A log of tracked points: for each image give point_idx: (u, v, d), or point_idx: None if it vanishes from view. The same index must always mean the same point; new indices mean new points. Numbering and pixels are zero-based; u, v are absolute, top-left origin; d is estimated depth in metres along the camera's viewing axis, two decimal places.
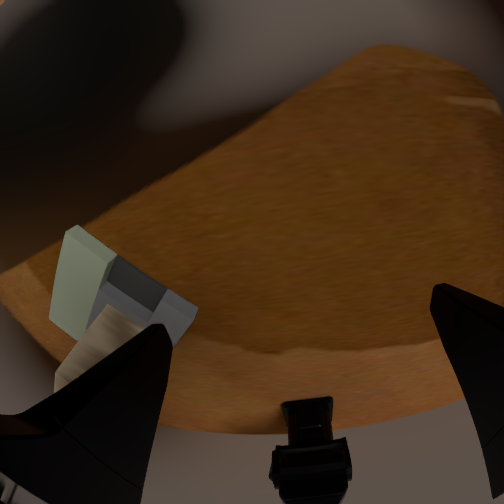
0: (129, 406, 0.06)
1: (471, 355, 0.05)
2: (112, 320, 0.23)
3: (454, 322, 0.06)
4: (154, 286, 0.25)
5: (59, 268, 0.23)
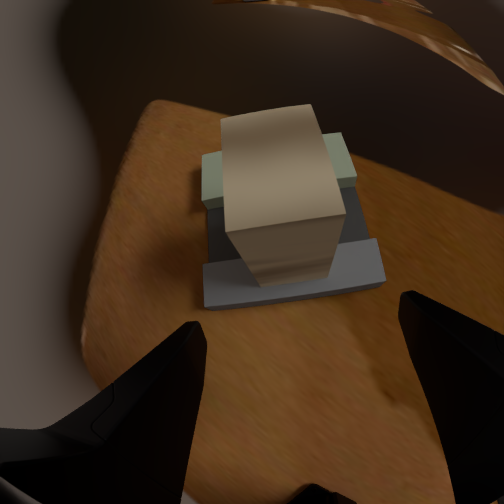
0: (170, 411, 0.06)
1: (435, 368, 0.05)
2: None
3: (419, 332, 0.06)
4: (362, 233, 0.22)
5: None
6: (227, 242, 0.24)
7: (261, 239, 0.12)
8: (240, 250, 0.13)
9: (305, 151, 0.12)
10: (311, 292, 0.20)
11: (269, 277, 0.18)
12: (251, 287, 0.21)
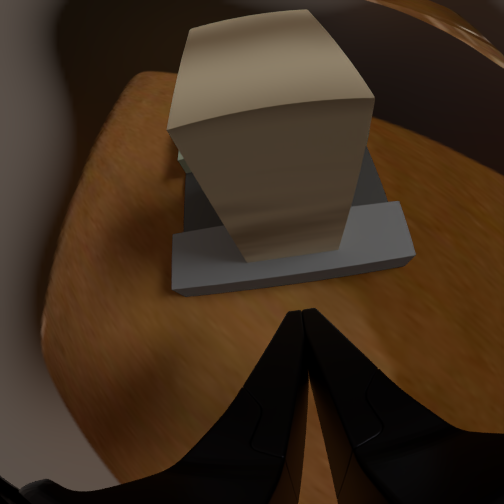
0: (302, 408, 0.05)
1: (317, 396, 0.06)
2: None
3: (308, 355, 0.07)
4: (380, 198, 0.17)
5: None
6: (207, 210, 0.19)
7: (232, 150, 0.07)
8: (201, 179, 0.08)
9: (301, 39, 0.07)
10: (316, 269, 0.14)
11: (256, 244, 0.13)
12: (234, 263, 0.15)
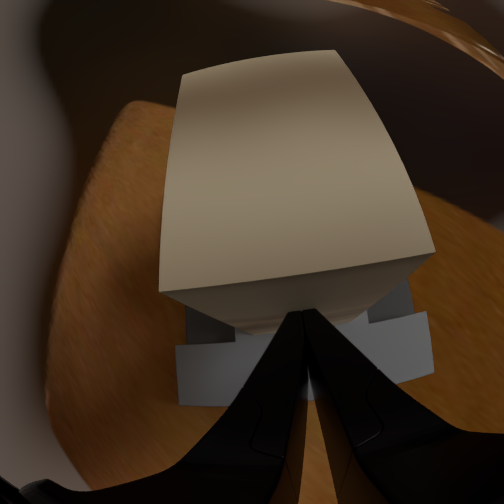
0: (302, 408, 0.05)
1: (317, 396, 0.06)
2: None
3: (308, 355, 0.07)
4: (404, 297, 0.15)
5: None
6: None
7: (244, 299, 0.06)
8: (206, 311, 0.07)
9: (336, 116, 0.06)
10: None
11: (265, 329, 0.12)
12: None
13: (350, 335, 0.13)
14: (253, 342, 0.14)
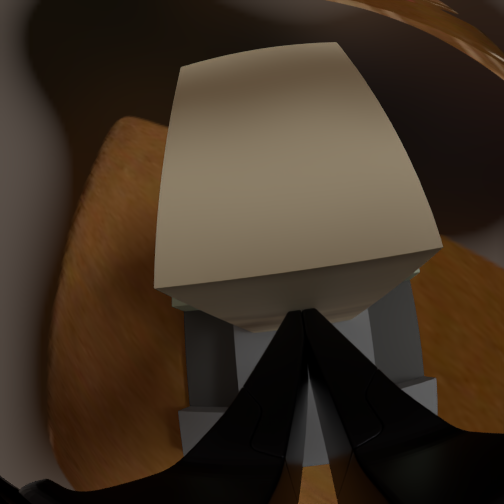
0: (302, 408, 0.05)
1: (317, 396, 0.06)
2: None
3: (308, 355, 0.07)
4: (415, 358, 0.13)
5: None
6: (214, 370, 0.15)
7: (244, 296, 0.06)
8: (204, 309, 0.07)
9: (338, 107, 0.05)
10: None
11: (265, 326, 0.11)
12: None
13: None
14: None
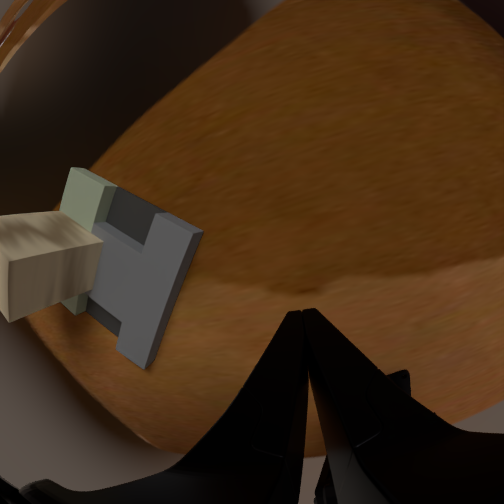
0: (302, 408, 0.05)
1: (317, 396, 0.06)
2: (57, 217, 0.21)
3: (308, 355, 0.07)
4: (153, 211, 0.22)
5: None
6: (111, 317, 0.25)
7: (21, 303, 0.14)
8: (30, 312, 0.15)
9: None
10: (166, 300, 0.21)
11: (76, 287, 0.20)
12: (143, 334, 0.22)
13: (141, 268, 0.21)
14: (124, 314, 0.22)
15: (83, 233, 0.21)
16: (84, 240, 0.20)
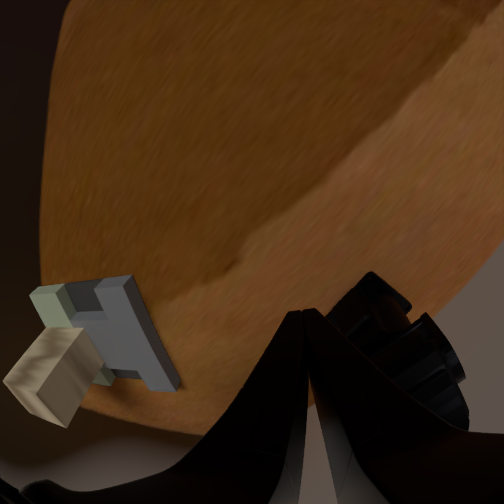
0: (302, 408, 0.05)
1: (317, 396, 0.06)
2: (47, 334, 0.24)
3: (308, 355, 0.07)
4: (95, 285, 0.24)
5: None
6: (132, 369, 0.29)
7: (64, 410, 0.18)
8: (74, 411, 0.19)
9: (23, 394, 0.16)
10: (146, 338, 0.24)
11: (91, 370, 0.24)
12: (154, 369, 0.26)
13: (116, 329, 0.24)
14: (134, 364, 0.26)
15: (68, 332, 0.24)
16: (71, 338, 0.23)
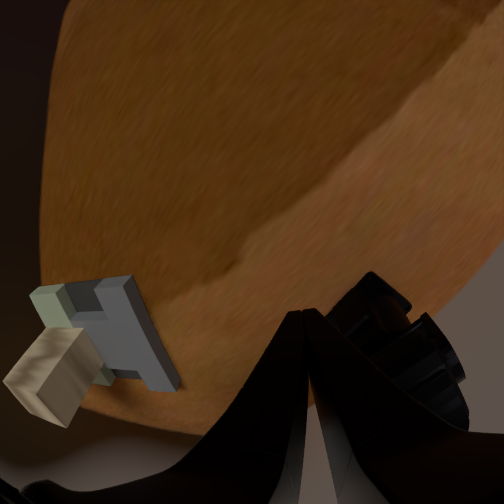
0: (302, 408, 0.05)
1: (317, 396, 0.06)
2: (47, 334, 0.24)
3: (308, 355, 0.07)
4: (95, 285, 0.24)
5: None
6: (132, 369, 0.29)
7: (64, 410, 0.18)
8: (74, 411, 0.19)
9: (23, 394, 0.16)
10: (146, 338, 0.24)
11: (91, 370, 0.24)
12: (154, 369, 0.26)
13: (116, 329, 0.24)
14: (134, 364, 0.26)
15: (68, 332, 0.24)
16: (71, 338, 0.23)
